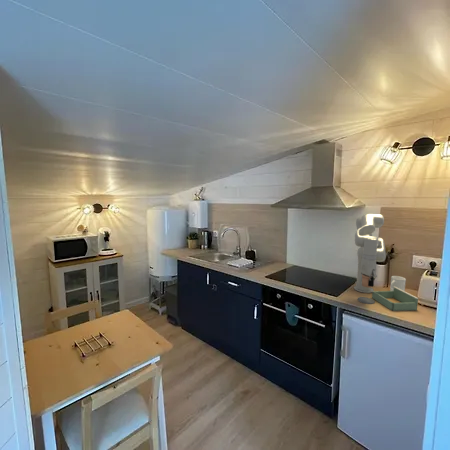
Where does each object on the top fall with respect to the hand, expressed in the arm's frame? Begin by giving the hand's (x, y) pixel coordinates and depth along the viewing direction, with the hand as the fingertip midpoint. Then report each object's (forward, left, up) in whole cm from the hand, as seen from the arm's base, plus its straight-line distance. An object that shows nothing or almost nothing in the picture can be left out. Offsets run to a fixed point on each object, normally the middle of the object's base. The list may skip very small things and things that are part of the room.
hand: (367, 284), depth 170 cm
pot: (0, 0, -1) cm, 1 cm away
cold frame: (+5, +15, -11) cm, 20 cm away
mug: (-13, +30, -12) cm, 35 cm away
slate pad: (0, 0, -11) cm, 11 cm away
